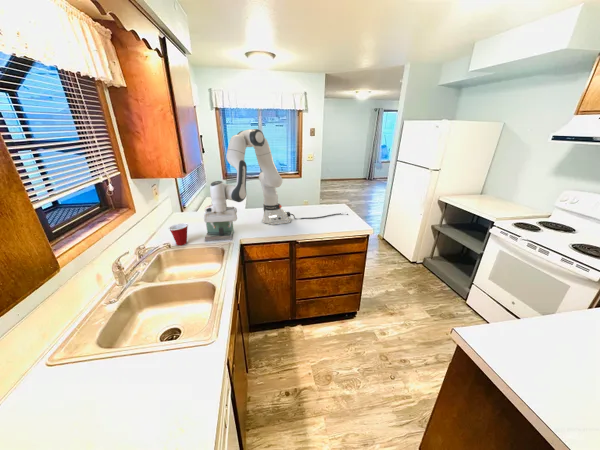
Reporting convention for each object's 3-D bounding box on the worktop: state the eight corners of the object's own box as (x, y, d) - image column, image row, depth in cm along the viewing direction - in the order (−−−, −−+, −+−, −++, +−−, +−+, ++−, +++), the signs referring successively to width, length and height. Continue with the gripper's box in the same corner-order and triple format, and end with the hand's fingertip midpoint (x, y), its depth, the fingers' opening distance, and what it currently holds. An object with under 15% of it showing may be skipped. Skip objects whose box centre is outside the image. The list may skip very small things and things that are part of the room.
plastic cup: (177, 240, 154) (174, 222, 150) (193, 240, 154) (191, 223, 149) (168, 247, 144) (164, 228, 140) (185, 247, 144) (182, 229, 139)
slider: (223, 232, 158) (223, 227, 157) (223, 234, 155) (222, 228, 154) (220, 233, 158) (219, 227, 156) (219, 234, 155) (218, 229, 153)
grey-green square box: (233, 230, 170) (232, 214, 166) (231, 239, 155) (229, 222, 151) (210, 231, 168) (208, 215, 163) (205, 241, 153) (203, 223, 149)
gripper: (236, 205, 155) (238, 225, 160) (203, 206, 151) (206, 226, 156) (236, 207, 149) (238, 228, 154) (201, 209, 146) (205, 230, 151)
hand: (222, 227), depth 155 cm, fingers open, 8 cm apart
